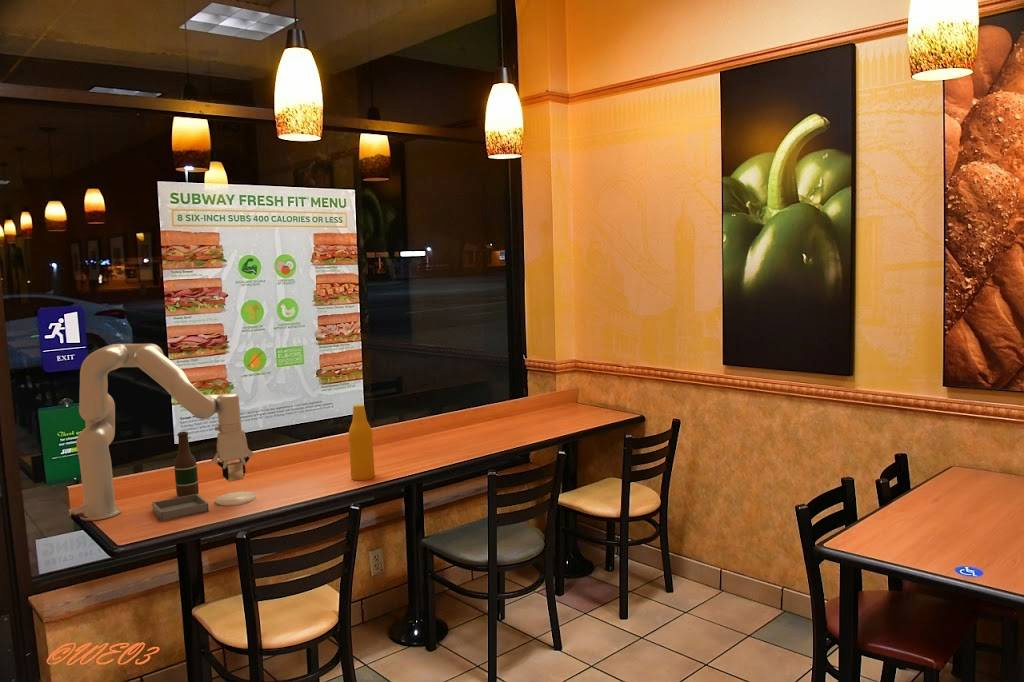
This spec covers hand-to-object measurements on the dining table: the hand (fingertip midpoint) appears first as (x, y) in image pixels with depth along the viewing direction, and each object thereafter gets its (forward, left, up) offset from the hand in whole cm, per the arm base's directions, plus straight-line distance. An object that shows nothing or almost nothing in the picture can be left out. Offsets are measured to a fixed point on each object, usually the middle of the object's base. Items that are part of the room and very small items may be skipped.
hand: (234, 476), depth 281 cm
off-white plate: (0, 0, -9) cm, 9 cm away
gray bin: (-19, 0, -9) cm, 21 cm away
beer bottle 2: (+48, -5, -9) cm, 49 cm away
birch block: (0, 0, -1) cm, 1 cm away
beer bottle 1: (-12, +20, -9) cm, 25 cm away
